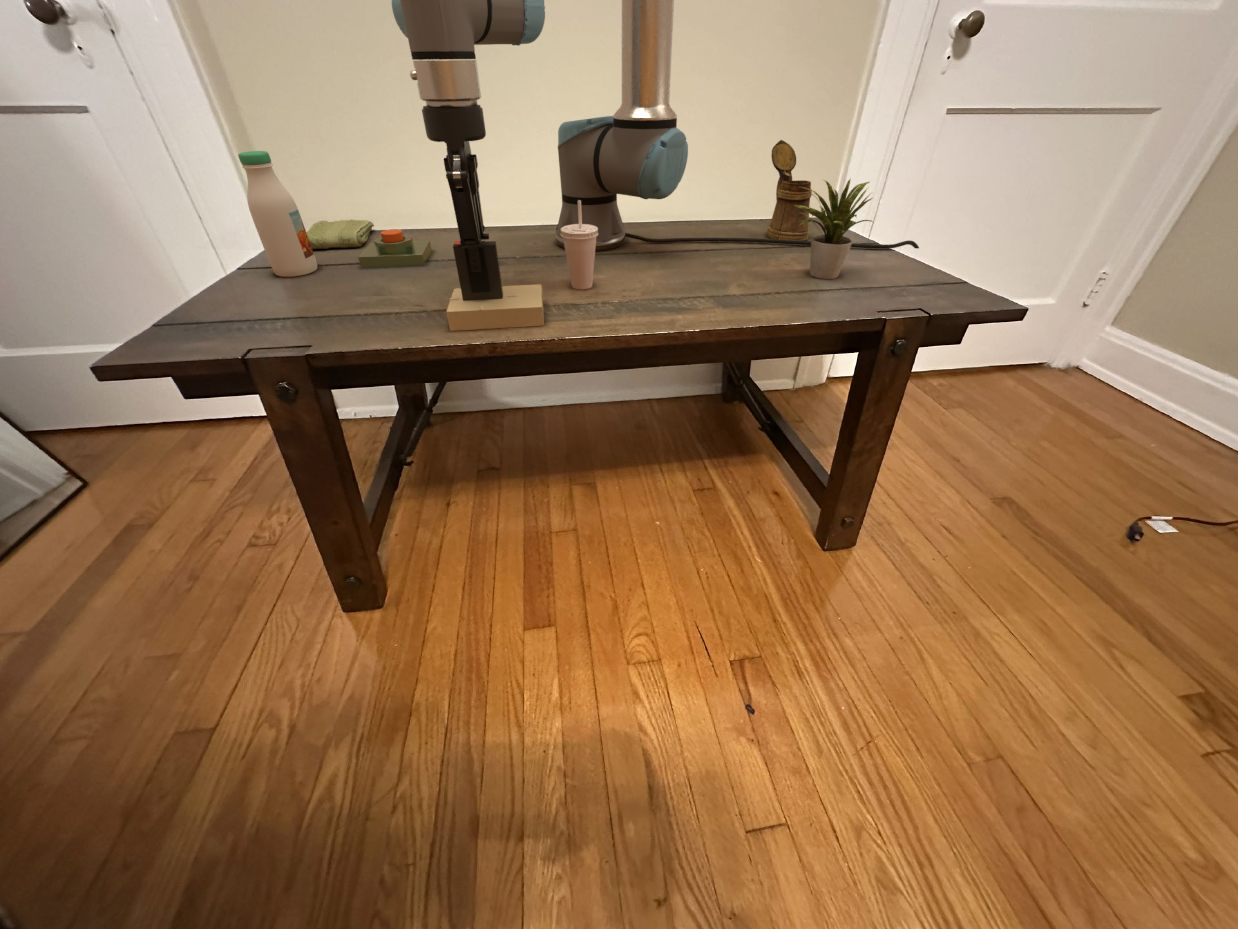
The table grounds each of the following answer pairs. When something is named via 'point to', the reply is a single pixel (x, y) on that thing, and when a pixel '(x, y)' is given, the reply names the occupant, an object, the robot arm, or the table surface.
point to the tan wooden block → (498, 309)
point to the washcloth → (339, 234)
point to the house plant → (833, 230)
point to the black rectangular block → (492, 270)
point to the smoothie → (580, 251)
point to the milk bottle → (276, 218)
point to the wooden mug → (788, 198)
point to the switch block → (395, 253)
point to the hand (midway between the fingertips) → (481, 288)
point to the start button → (392, 235)
